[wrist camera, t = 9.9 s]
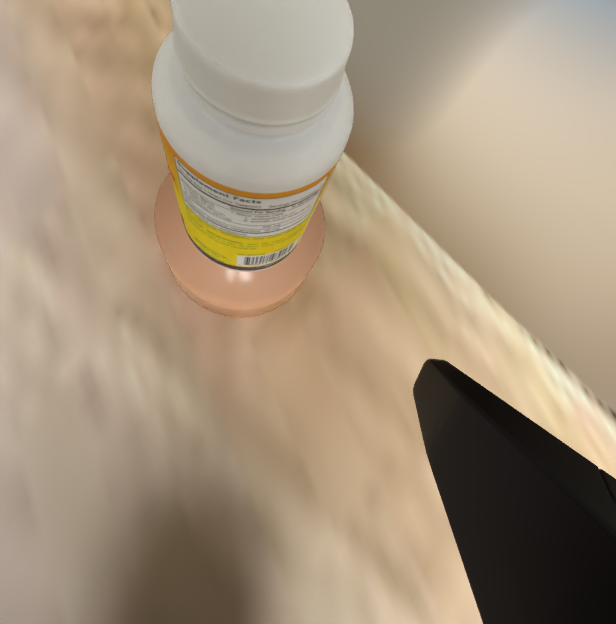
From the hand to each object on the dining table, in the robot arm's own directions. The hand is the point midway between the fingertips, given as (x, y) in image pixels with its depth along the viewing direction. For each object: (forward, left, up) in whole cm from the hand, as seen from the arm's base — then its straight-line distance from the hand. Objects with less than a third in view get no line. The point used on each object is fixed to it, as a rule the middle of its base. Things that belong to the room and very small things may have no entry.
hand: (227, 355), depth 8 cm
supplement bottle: (+4, +6, -9) cm, 11 cm away
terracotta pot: (+5, +6, -13) cm, 15 cm away
